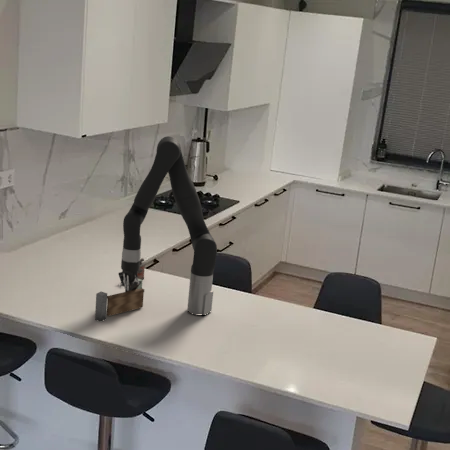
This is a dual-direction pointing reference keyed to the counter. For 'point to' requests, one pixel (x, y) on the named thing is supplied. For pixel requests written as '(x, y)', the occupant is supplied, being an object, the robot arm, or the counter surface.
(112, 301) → the gate
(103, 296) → the hinge post
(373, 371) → the counter surface
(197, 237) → the robot arm
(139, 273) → the lighter
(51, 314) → the counter surface
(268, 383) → the counter surface
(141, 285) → the latch post
